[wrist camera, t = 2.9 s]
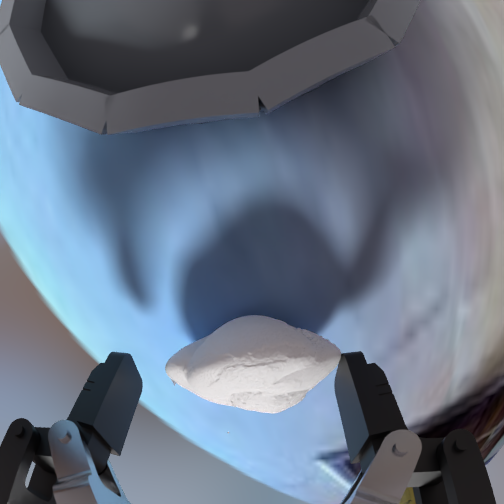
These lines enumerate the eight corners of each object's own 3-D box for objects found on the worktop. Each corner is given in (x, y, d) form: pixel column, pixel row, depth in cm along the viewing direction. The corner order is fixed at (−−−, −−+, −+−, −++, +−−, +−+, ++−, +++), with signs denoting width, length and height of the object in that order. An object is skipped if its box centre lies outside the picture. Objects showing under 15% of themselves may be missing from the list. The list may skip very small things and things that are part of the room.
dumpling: (300, 255, 10) (319, 325, 7) (343, 345, 12) (364, 414, 8) (152, 321, 12) (121, 388, 8) (215, 389, 14) (205, 452, 10)
